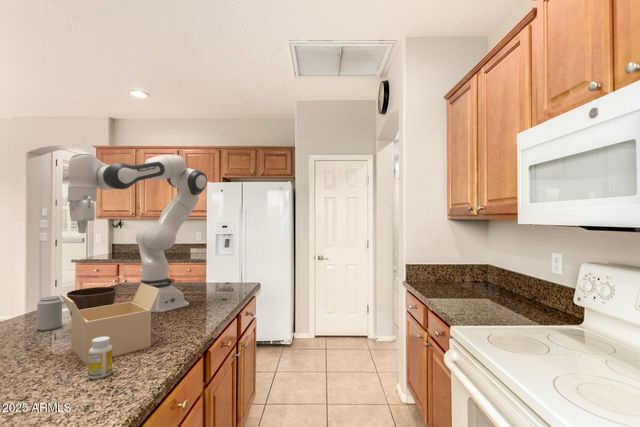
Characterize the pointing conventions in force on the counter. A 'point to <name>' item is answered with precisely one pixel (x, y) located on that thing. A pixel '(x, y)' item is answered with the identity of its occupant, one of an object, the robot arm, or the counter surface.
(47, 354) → the counter surface
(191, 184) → the robot arm
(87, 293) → the plant pot
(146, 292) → the flap
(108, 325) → the carton
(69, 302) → the flap
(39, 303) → the can
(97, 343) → the supplement bottle
